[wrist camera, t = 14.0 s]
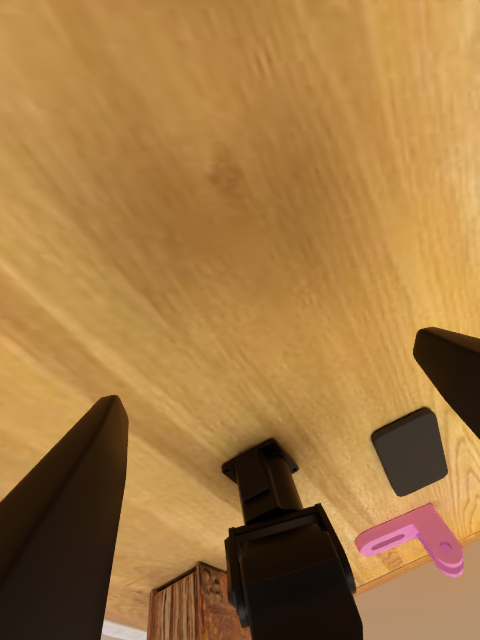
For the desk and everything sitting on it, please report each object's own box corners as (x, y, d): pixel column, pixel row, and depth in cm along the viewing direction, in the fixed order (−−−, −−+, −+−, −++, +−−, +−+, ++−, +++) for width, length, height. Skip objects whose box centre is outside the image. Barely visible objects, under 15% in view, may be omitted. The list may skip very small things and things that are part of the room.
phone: (435, 409, 31) (449, 475, 38) (429, 403, 32) (444, 469, 39) (372, 440, 32) (398, 499, 39) (367, 434, 32) (394, 493, 40)
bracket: (430, 503, 44) (470, 557, 38) (433, 518, 46) (470, 571, 40) (351, 537, 44) (378, 595, 38) (358, 549, 47) (384, 606, 41)
